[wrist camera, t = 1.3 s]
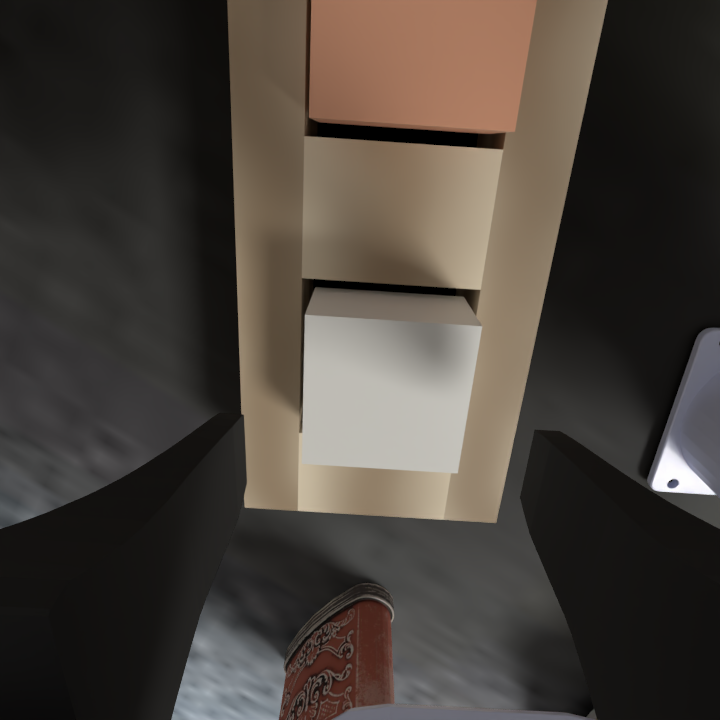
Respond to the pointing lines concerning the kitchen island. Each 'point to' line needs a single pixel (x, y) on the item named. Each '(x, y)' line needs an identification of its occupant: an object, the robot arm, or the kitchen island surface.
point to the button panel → (393, 249)
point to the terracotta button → (419, 63)
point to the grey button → (387, 379)
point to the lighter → (341, 657)
